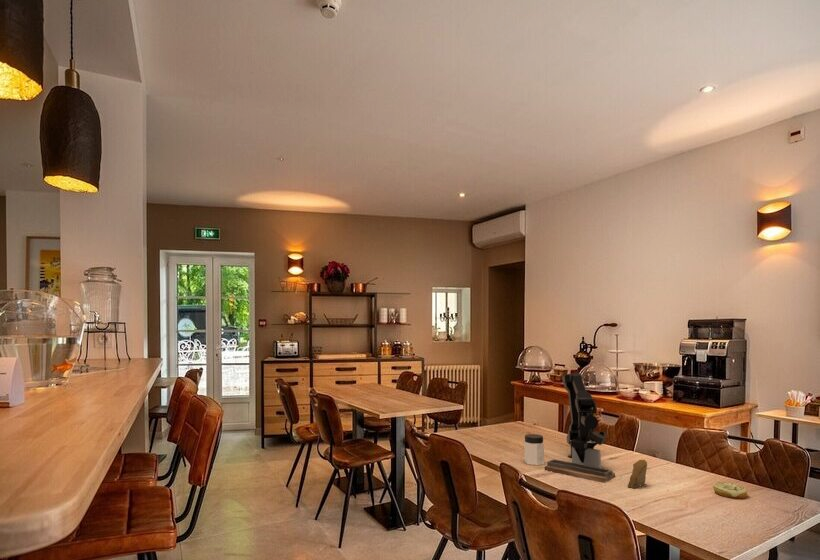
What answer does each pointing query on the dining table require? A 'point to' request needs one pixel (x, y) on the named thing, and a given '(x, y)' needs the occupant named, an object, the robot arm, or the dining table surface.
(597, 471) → the track board
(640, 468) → the rock
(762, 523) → the dining table surface
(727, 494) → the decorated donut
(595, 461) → the door panel
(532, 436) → the jar
